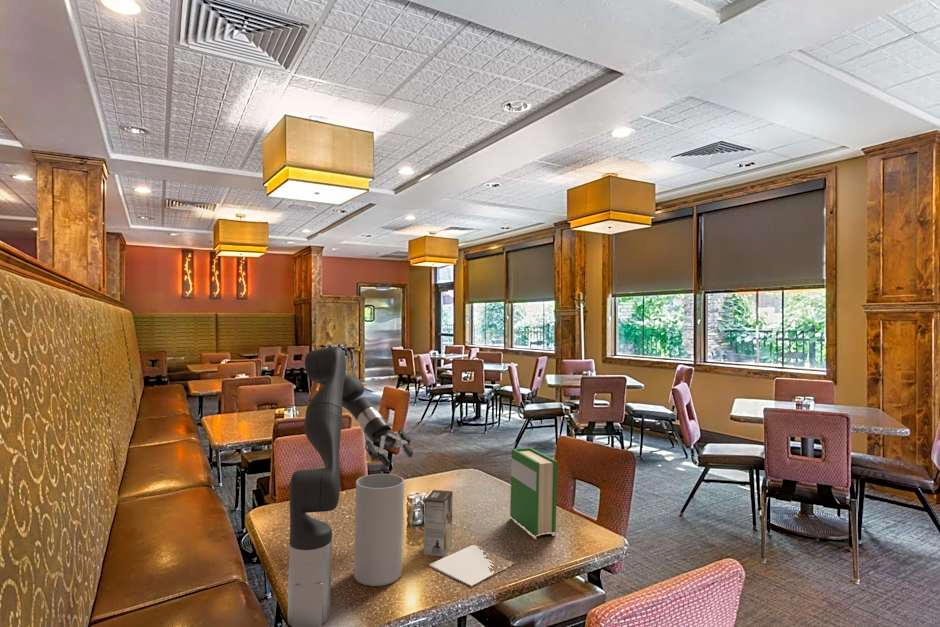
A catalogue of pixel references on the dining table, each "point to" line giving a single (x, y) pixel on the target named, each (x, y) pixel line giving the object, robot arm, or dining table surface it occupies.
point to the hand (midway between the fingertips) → (400, 460)
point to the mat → (465, 565)
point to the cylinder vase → (378, 529)
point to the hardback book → (533, 490)
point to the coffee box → (438, 523)
